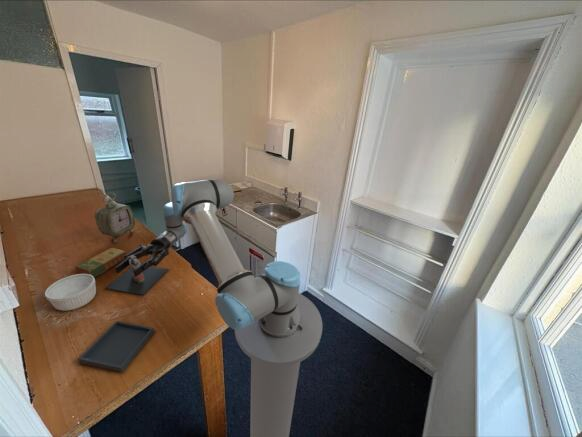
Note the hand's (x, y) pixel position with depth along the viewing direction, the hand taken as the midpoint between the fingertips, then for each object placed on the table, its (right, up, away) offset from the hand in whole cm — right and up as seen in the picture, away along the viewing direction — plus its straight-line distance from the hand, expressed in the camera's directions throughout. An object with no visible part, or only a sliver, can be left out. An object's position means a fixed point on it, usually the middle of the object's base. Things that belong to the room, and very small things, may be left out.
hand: (125, 272), depth 90 cm
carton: (-19, 0, +13) cm, 24 cm away
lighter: (0, -4, +7) cm, 8 cm away
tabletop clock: (-28, +11, +35) cm, 47 cm away
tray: (+12, -18, -19) cm, 29 cm away
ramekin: (-15, -9, -4) cm, 18 cm away
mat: (0, -5, +8) cm, 9 cm away
